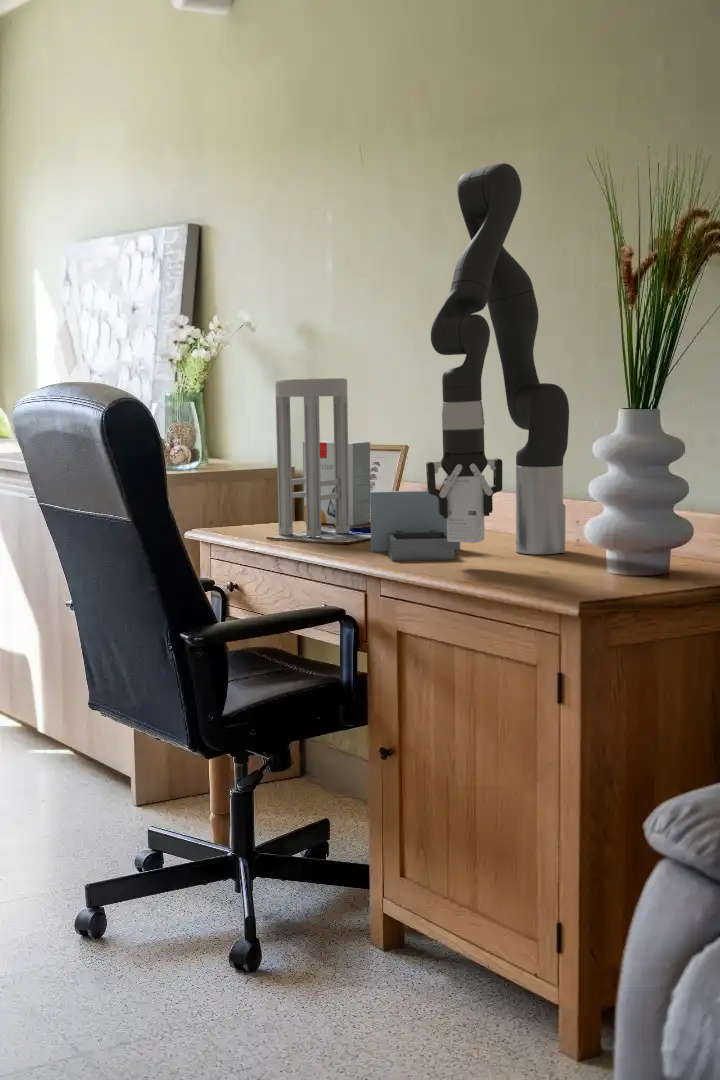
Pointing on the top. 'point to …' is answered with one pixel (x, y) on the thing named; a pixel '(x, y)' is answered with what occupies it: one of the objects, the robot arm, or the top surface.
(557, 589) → the top surface
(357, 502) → the hard drive box
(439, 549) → the grey open tray
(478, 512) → the skincare box
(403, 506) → the backboard
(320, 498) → the stool
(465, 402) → the robot arm
